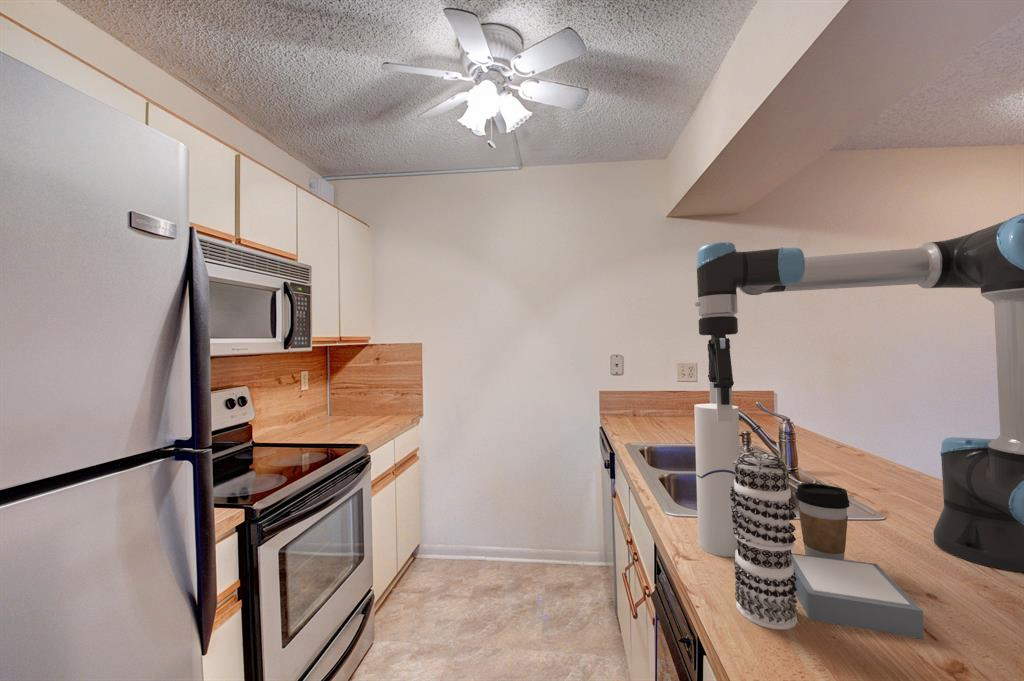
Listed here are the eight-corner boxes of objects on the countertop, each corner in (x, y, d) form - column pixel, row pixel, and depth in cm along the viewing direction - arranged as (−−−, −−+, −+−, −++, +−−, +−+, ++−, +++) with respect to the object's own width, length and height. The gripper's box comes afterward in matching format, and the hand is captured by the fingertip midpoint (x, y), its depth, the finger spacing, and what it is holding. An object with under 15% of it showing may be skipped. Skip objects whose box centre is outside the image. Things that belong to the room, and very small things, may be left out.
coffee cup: (838, 581, 75) (834, 497, 76) (789, 560, 83) (786, 484, 83) (861, 569, 79) (858, 489, 80) (812, 550, 87) (809, 478, 87)
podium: (877, 586, 73) (876, 562, 74) (924, 639, 60) (922, 609, 60) (784, 573, 78) (784, 551, 78) (809, 619, 65) (808, 592, 65)
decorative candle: (720, 606, 69) (716, 453, 69) (753, 589, 73) (749, 446, 74) (779, 639, 61) (773, 466, 61) (812, 618, 65) (806, 457, 66)
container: (749, 558, 84) (744, 409, 85) (703, 555, 86) (699, 408, 86) (735, 539, 92) (731, 403, 93) (694, 536, 94) (690, 403, 95)
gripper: (694, 320, 103) (697, 407, 102) (703, 312, 79) (706, 425, 79) (728, 319, 100) (731, 408, 100) (748, 310, 77) (752, 426, 76)
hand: (720, 415), depth 89 cm, fingers open, 13 cm apart
